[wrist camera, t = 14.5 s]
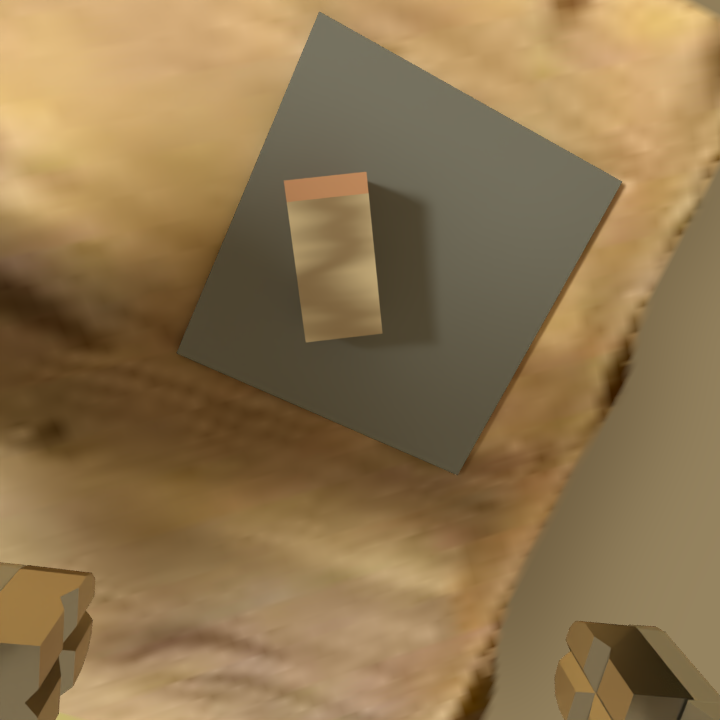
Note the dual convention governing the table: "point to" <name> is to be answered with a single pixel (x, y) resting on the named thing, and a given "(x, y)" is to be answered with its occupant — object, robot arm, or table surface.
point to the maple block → (334, 256)
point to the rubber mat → (400, 250)
